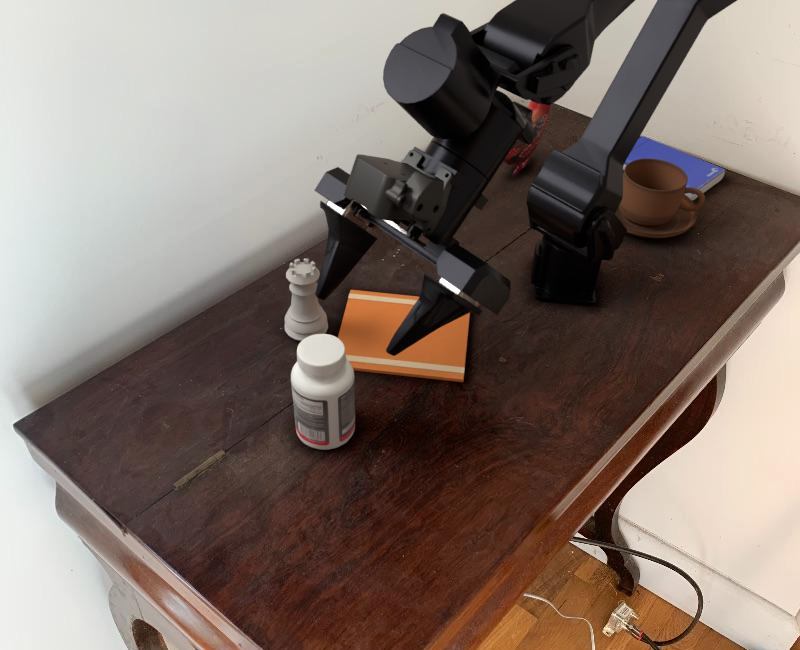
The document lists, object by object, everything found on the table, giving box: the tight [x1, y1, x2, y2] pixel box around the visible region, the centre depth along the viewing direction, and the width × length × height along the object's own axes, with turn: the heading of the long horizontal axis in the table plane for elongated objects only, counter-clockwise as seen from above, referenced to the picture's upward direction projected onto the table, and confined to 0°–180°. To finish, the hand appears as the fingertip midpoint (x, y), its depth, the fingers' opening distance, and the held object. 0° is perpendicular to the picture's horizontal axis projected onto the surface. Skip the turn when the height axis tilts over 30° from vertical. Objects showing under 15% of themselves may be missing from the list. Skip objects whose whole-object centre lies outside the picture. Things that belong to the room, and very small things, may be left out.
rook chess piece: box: [284, 257, 329, 342], centre depth 79 cm, size 4×4×8 cm
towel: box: [337, 289, 471, 383], centre depth 82 cm, size 13×12×1 cm
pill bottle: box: [290, 333, 356, 451], centre depth 69 cm, size 5×5×10 cm
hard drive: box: [623, 135, 726, 201], centre depth 106 cm, size 2×8×12 cm
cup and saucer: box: [615, 158, 706, 239], centre depth 96 cm, size 12×12×6 cm
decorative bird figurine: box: [503, 100, 553, 176], centre depth 101 cm, size 3×18×10 cm, turn 149°
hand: (353, 325), depth 67 cm, fingers open, 9 cm apart
